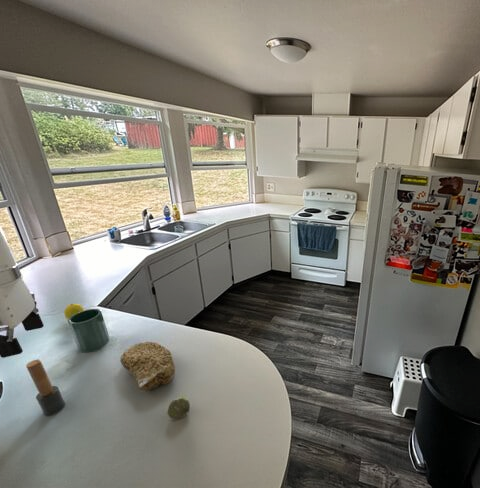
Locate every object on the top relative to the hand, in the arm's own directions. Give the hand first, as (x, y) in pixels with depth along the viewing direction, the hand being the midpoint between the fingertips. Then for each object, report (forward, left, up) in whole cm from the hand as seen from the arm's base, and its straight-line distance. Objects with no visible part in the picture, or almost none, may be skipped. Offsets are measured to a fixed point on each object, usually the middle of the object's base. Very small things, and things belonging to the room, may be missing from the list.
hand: (24, 340), depth 60 cm
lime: (+30, -16, -23) cm, 41 cm away
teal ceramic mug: (+2, +26, -23) cm, 35 cm away
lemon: (-8, +45, -23) cm, 51 cm away
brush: (0, 0, -23) cm, 23 cm away
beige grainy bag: (+21, +4, -23) cm, 31 cm away
